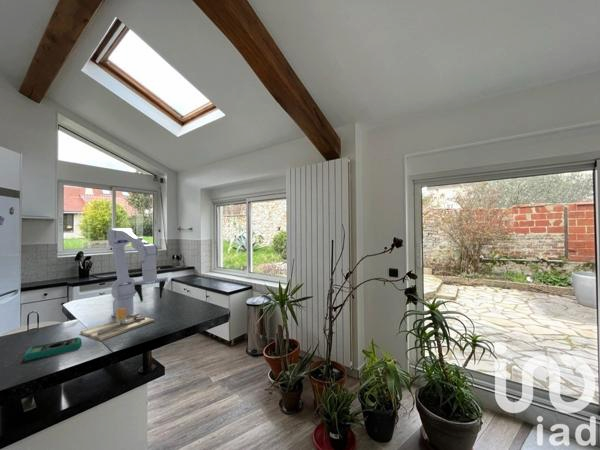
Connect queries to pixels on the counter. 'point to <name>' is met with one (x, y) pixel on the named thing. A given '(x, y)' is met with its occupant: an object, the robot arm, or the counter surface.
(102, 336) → the hole gauge board
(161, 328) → the counter surface
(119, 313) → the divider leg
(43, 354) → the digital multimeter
